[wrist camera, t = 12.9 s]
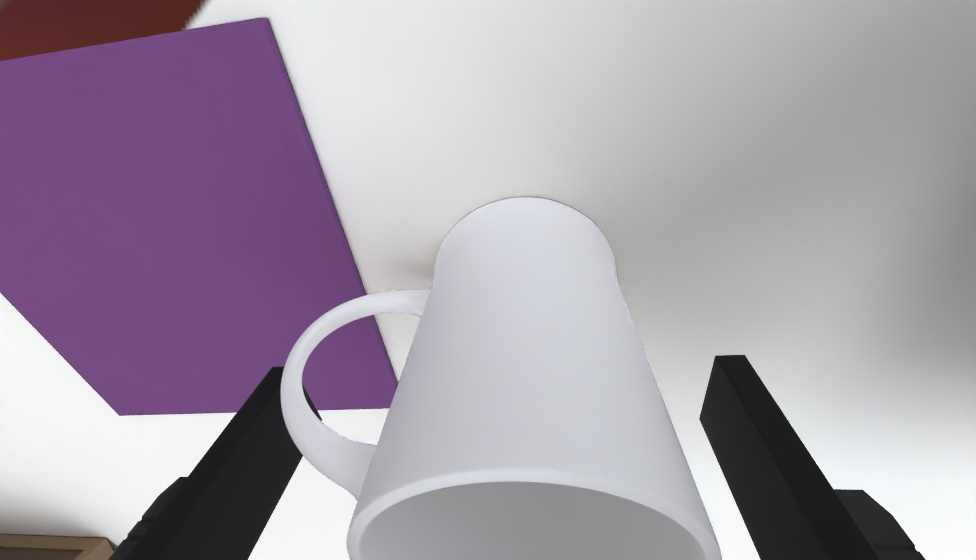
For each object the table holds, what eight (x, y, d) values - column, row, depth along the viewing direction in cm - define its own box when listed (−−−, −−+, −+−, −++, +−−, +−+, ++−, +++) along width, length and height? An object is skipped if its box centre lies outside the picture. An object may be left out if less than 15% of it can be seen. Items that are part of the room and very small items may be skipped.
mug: (357, 303, 20) (194, 579, 10) (383, 142, 15) (128, 350, 5) (568, 364, 21) (612, 662, 11) (650, 231, 17) (845, 534, 7)
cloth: (267, 17, 13) (261, 17, 13) (404, 402, 24) (403, 408, 24) (-180, 91, 16) (-194, 92, 16) (124, 411, 27) (119, 415, 26)
